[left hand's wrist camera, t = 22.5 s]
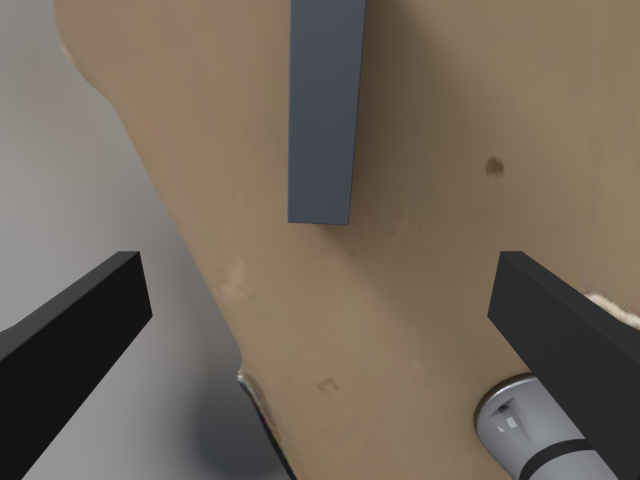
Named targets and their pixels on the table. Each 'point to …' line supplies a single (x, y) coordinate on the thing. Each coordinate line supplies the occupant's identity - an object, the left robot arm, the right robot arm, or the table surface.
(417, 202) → the table surface
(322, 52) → the bar
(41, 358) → the left robot arm
